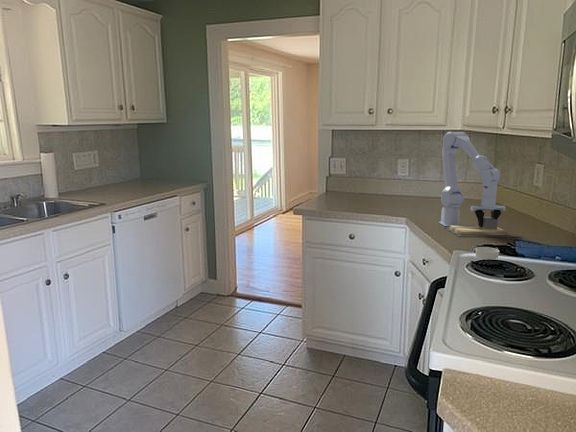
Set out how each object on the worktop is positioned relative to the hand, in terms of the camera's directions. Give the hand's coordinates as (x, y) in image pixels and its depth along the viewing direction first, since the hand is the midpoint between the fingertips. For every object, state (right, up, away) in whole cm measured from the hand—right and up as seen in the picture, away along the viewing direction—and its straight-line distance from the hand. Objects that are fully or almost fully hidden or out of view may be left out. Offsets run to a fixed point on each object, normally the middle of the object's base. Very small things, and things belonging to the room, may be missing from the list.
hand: (486, 226), depth 193 cm
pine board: (-4, -3, +1) cm, 5 cm away
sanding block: (0, -1, -1) cm, 1 cm away
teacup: (-21, -11, -46) cm, 52 cm away
